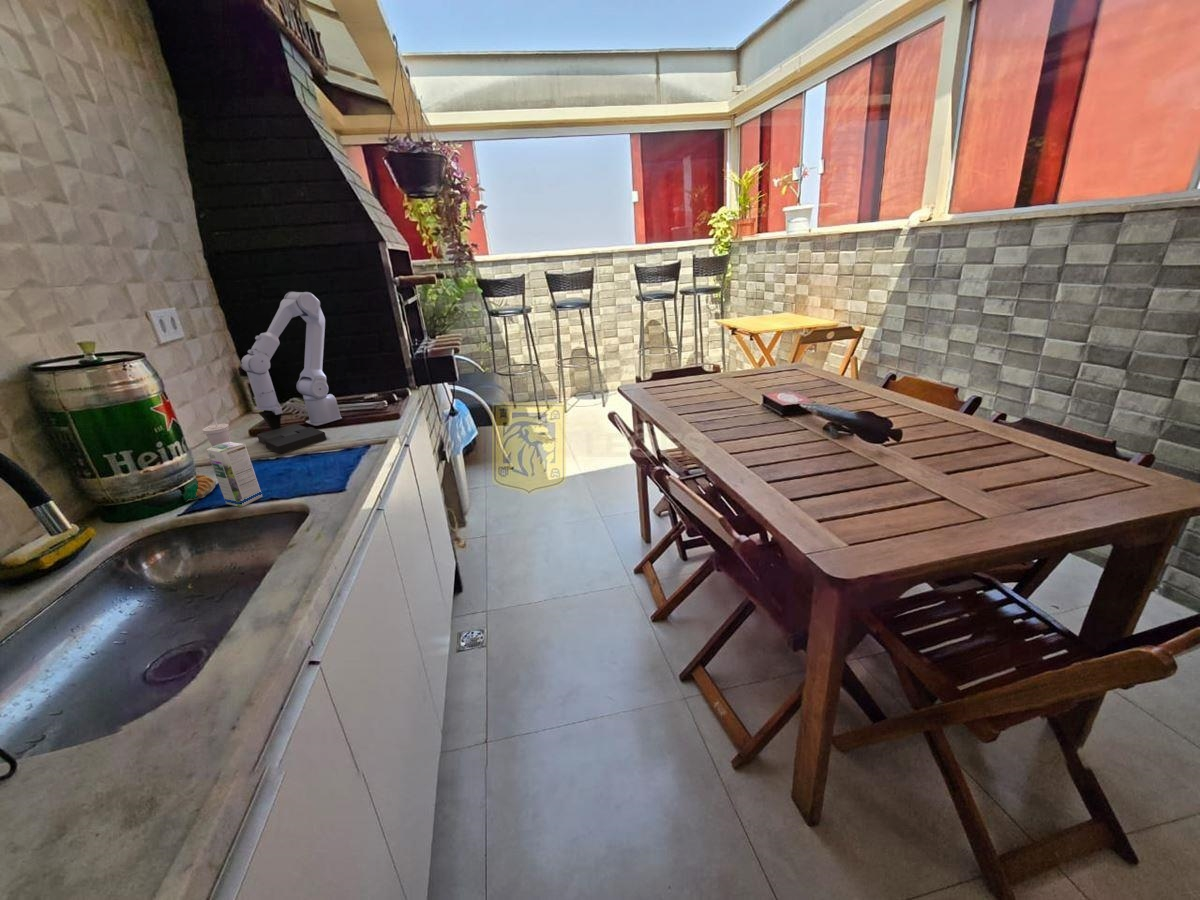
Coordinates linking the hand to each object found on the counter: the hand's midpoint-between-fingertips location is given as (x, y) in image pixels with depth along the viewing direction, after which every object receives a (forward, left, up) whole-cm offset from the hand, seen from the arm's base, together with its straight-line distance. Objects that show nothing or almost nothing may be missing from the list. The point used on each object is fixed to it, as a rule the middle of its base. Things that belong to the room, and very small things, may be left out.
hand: (276, 431), depth 162 cm
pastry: (+30, +29, -2) cm, 42 cm away
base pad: (0, +14, -1) cm, 14 cm away
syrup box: (+25, +44, -2) cm, 51 cm away
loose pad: (0, +6, -1) cm, 6 cm away
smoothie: (+17, +7, -2) cm, 18 cm away
